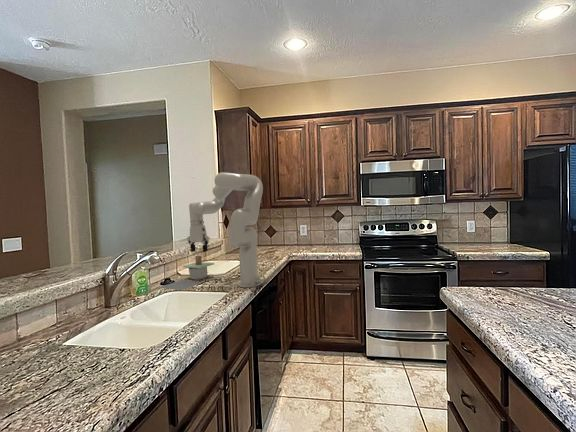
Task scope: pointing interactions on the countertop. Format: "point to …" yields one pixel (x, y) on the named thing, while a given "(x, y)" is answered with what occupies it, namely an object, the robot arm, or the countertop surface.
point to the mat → (180, 285)
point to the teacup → (198, 273)
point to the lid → (198, 263)
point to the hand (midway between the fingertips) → (199, 251)
